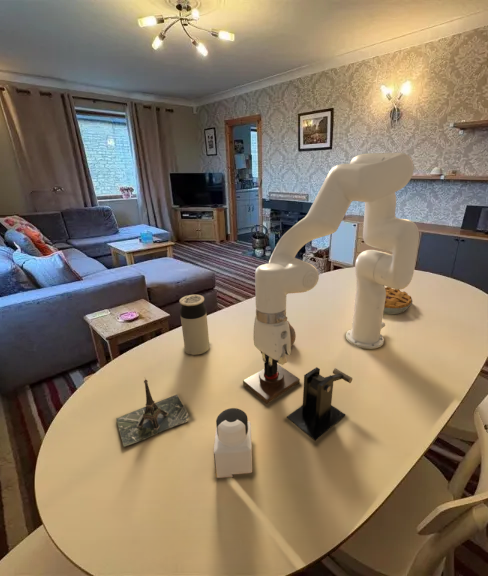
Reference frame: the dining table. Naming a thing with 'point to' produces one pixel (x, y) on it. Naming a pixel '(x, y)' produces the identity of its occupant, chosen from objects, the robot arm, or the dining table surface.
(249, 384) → the housing
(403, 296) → the pie
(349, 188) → the robot arm
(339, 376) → the switch lever
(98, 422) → the dining table surface
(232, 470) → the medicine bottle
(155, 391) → the dining table surface
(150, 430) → the eiffel tower figurine
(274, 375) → the button
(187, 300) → the travel mug
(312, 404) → the switch bracket
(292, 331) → the vase
